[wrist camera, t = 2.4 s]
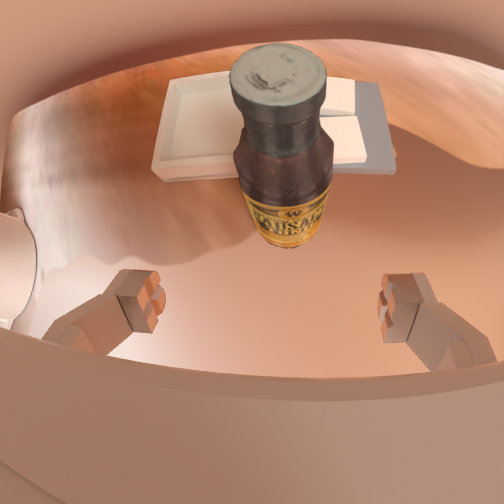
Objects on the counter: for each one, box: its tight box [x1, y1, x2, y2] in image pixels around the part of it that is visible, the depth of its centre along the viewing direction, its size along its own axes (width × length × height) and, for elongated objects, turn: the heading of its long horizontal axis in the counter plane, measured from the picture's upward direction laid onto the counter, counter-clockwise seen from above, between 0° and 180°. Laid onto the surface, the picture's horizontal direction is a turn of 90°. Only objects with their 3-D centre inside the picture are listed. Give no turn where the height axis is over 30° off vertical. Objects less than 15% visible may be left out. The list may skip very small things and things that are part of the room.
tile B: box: [320, 77, 355, 117], centre depth 30 cm, size 5×5×1 cm
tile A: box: [319, 116, 367, 164], centre depth 29 cm, size 5×5×1 cm
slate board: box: [319, 82, 396, 175], centre depth 31 cm, size 10×12×1 cm
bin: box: [151, 71, 244, 183], centre depth 32 cm, size 12×13×4 cm
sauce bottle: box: [229, 43, 334, 248], centre depth 20 cm, size 6×6×20 cm
